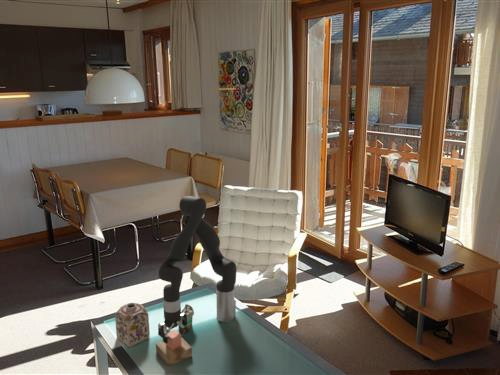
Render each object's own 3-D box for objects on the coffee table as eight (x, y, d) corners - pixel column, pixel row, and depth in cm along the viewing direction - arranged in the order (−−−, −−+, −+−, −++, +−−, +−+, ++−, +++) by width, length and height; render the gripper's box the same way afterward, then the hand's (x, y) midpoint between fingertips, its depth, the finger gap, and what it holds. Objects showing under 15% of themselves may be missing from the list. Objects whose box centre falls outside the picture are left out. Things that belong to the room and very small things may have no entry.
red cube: (174, 340, 207) (174, 329, 206) (181, 345, 204) (181, 334, 202) (166, 345, 204) (165, 333, 202) (172, 350, 201) (172, 338, 199)
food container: (189, 336, 219) (189, 318, 216) (177, 334, 220) (177, 316, 217) (197, 322, 230) (197, 304, 227) (186, 320, 231) (185, 303, 228)
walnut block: (179, 343, 213) (179, 334, 212) (191, 356, 204) (191, 347, 203) (156, 352, 206) (155, 343, 205) (168, 367, 197) (167, 357, 196)
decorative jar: (150, 337, 217) (148, 304, 212) (129, 348, 209) (127, 314, 204) (136, 327, 225) (134, 295, 220) (116, 337, 217) (113, 305, 212)
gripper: (180, 298, 206) (181, 328, 210) (153, 310, 196) (155, 341, 201) (190, 304, 201) (191, 335, 205) (163, 316, 191) (165, 349, 196)
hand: (173, 338), depth 203 cm, fingers open, 8 cm apart
